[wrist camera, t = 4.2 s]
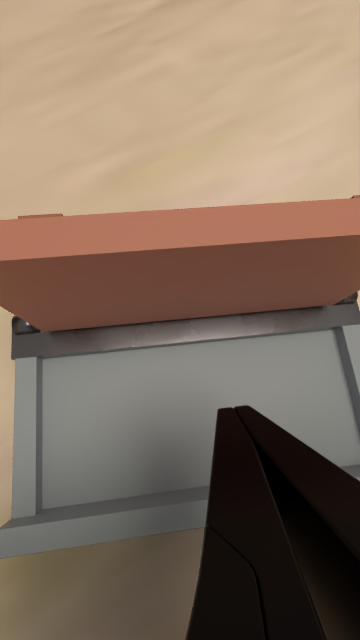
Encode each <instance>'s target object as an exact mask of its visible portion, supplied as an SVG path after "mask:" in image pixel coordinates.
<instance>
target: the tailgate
mask: <svg viewBox="0 0 360 640" xmlns="http://www.w3.org/2000/svg"><path fill="white" fill-rule="evenodd" d="M359 290H360V195H357V196H353V197H352V198H350V199H334V200H318V201H302V202H286V203H270V204H253V205H237V206H221V207H205V208H189V209H173V210H157V211H141V212H124V213H108V214H92V215H76V216H63V215H62V214H46V215H30V216H18V219H11V220H0V306H1V307H3V308H4V309H6V310H8V311H9V312H11V313H13V314H14V315H16V316H18V317H19V318H21V319H23V320H24V321H26V322H28V323H29V324H31V325H32V326H34V327H36V328H37V329H39V330H41V331H42V332H48V331H59V330H70V329H80V328H91V327H102V326H112V325H123V324H134V323H145V322H155V321H166V320H177V319H187V318H198V317H209V316H219V315H230V314H241V313H251V312H262V311H273V310H284V309H294V308H305V307H316V306H326V305H334V304H336V303H338V302H339V301H341V300H343V299H345V298H346V297H348V296H350V295H352V294H353V293H355V292H357V291H359Z"/></svg>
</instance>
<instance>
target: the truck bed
mask: <svg viewBox="0 0 360 640" xmlns="http://www.w3.org/2000/svg"><path fill="white" fill-rule="evenodd" d="M243 405H249V406H251V407H252V408H254V409H255V410H257V411H258V412H260V413H261V414H262V415H264V416H265V417H267V418H268V419H270V420H271V421H273V422H274V423H276V424H277V425H279V426H280V427H281V428H283V429H284V430H286V431H287V432H289V433H290V434H292V435H293V436H295V437H296V438H298V439H299V440H301V441H302V442H303V443H305V444H306V445H308V446H309V447H311V448H312V449H314V450H315V451H317V452H318V453H320V454H321V455H323V456H324V457H325V458H327V459H328V460H330V461H331V462H333V463H334V464H336V465H337V466H339V467H340V468H342V469H343V470H344V471H346V472H347V473H349V474H350V475H352V476H353V477H355V478H356V479H358V480H359V481H360V324H359V325H349V326H341V327H339V328H337V329H334V330H325V331H315V332H305V333H295V334H286V335H276V336H266V337H256V338H246V339H236V340H226V341H216V342H206V343H196V344H186V345H177V346H167V347H157V348H147V349H137V350H127V351H117V352H107V353H97V354H87V355H78V356H68V357H58V358H48V359H41V358H38V357H29V358H19V359H16V360H15V401H14V442H13V483H12V519H11V520H10V521H8V522H7V523H6V524H5V525H3V526H2V527H1V528H0V559H2V558H8V557H15V556H21V555H28V554H34V553H41V552H47V551H53V550H60V549H66V548H73V547H79V546H86V545H92V544H99V543H105V542H112V541H118V540H125V539H131V538H138V537H144V536H151V535H157V534H164V533H170V532H177V531H183V530H190V529H196V528H203V527H205V522H206V513H207V503H208V494H209V484H210V475H211V465H212V456H213V446H214V437H215V427H216V418H217V410H218V409H219V408H227V407H232V408H234V407H235V406H243Z"/></svg>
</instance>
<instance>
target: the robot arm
mask: <svg viewBox="0 0 360 640" xmlns="http://www.w3.org/2000/svg"><path fill="white" fill-rule="evenodd" d="M185 640H360V481H359V480H358V479H356V478H355V477H353V476H352V475H350V474H349V473H347V472H346V471H344V470H343V469H342V468H340V467H339V466H337V465H336V464H334V463H333V462H331V461H330V460H328V459H327V458H325V457H324V456H323V455H321V454H320V453H318V452H317V451H315V450H314V449H312V448H311V447H309V446H308V445H306V444H305V443H303V442H302V441H301V440H299V439H298V438H296V437H295V436H293V435H292V434H290V433H289V432H287V431H286V430H284V429H283V428H281V427H280V426H279V425H277V424H276V423H274V422H273V421H271V420H270V419H268V418H267V417H265V416H264V415H262V414H261V413H260V412H258V411H257V410H255V409H254V408H252V407H251V406H249V405H243V406H235V407H234V408H232V407H227V408H219V409H218V410H217V418H216V427H215V437H214V446H213V456H212V465H211V475H210V484H209V494H208V503H207V513H206V522H205V529H204V539H203V548H202V555H201V562H200V569H199V576H198V582H197V587H196V592H195V597H194V602H193V607H192V611H191V616H190V621H189V625H188V630H187V634H186V638H185Z"/></svg>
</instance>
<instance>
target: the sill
mask: <svg viewBox="0 0 360 640" xmlns="http://www.w3.org/2000/svg"><path fill="white" fill-rule="evenodd" d="M357 297H358V294H357V292H355V293H353V294H352V295H350V296H348V297H346V298H345V299H343V300H341V301H339V302H338V303H336V304H334V305H326V306H316V307H305V308H294V309H284V310H273V311H262V312H251V313H241V314H230V315H219V316H209V317H198V318H187V319H177V320H166V321H155V322H145V323H134V324H123V325H112V326H102V327H91V328H80V329H70V330H59V331H48V332H42V331H41V330H39V329H37V328H36V327H34V326H32V325H31V324H29V323H28V322H26V321H24V320H23V319H21V318H19V317H18V316H14V317H13V318H12V352H11V359H12V360H16V359H19V358H29V357H38V358H41V359H48V358H58V357H68V356H78V355H87V354H97V353H107V352H117V351H127V350H137V349H147V348H157V347H167V346H177V345H186V344H196V343H206V342H216V341H226V340H236V339H246V338H256V337H266V336H276V335H286V334H295V333H305V332H315V331H325V330H334V329H337V328H339V327H341V326H349V325H359V324H360V311H359V307H358V304H357Z"/></svg>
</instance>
